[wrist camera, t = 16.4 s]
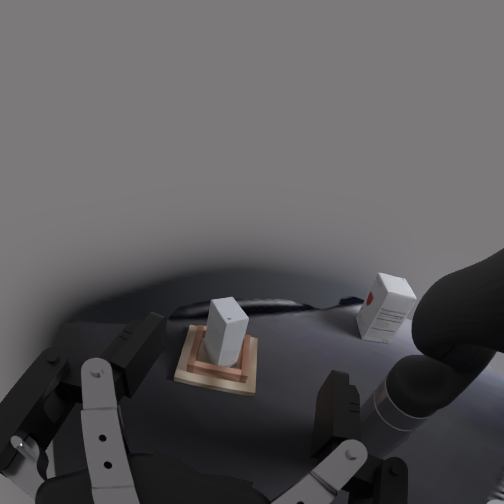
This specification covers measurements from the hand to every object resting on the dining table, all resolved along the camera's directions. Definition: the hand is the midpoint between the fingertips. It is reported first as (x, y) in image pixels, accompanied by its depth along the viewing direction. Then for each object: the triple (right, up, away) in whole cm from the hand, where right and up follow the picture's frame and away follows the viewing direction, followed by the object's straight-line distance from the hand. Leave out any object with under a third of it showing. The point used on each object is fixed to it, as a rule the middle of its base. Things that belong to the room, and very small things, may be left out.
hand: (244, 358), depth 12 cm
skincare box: (-6, -15, +38) cm, 41 cm away
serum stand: (-6, -16, +38) cm, 42 cm away
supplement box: (+32, -16, +56) cm, 66 cm away
